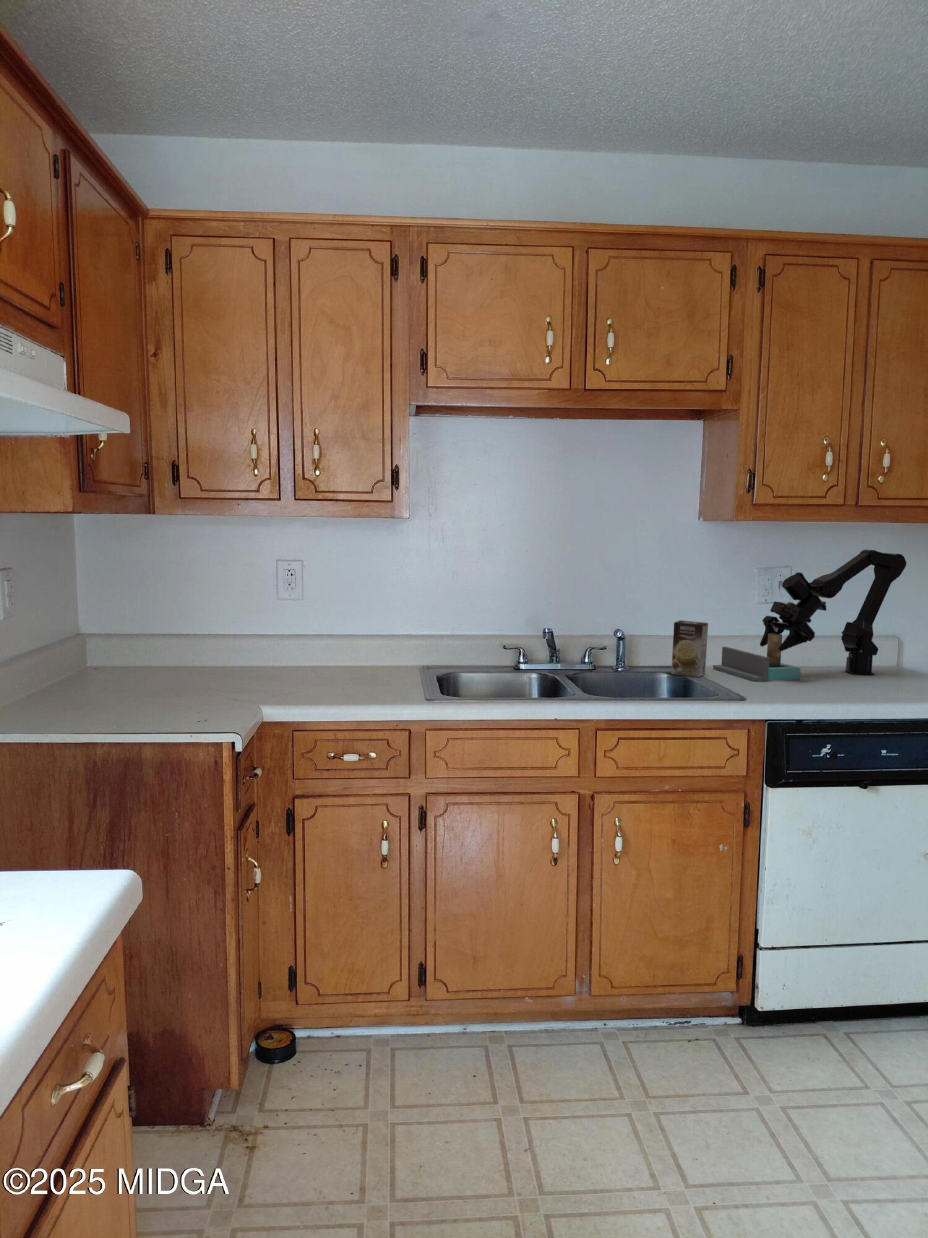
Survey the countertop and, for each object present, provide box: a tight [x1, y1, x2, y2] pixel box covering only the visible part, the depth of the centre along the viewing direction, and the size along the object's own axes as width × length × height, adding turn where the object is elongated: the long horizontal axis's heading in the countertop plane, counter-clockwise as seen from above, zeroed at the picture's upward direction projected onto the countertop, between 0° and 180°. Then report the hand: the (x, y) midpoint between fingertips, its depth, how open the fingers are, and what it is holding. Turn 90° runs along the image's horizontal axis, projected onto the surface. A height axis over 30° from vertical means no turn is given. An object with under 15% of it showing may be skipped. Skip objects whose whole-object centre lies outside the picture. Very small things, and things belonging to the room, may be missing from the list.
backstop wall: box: [712, 646, 769, 683], centre depth 265 cm, size 5×22×7 cm, turn 16°
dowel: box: [766, 633, 783, 668], centre depth 262 cm, size 4×4×12 cm
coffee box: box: [670, 619, 709, 678], centre depth 264 cm, size 9×6×16 cm
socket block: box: [767, 662, 801, 682], centre depth 262 cm, size 11×11×4 cm
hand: (770, 647), depth 261 cm, fingers open, 9 cm apart
